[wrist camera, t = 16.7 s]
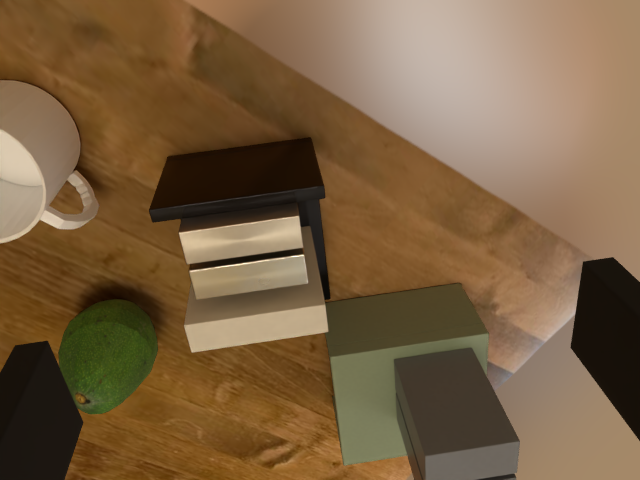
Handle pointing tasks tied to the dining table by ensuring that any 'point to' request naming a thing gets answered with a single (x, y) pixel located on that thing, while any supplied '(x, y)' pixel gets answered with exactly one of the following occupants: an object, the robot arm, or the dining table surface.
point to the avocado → (107, 354)
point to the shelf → (374, 355)
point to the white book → (259, 312)
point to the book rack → (245, 215)
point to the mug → (37, 161)
